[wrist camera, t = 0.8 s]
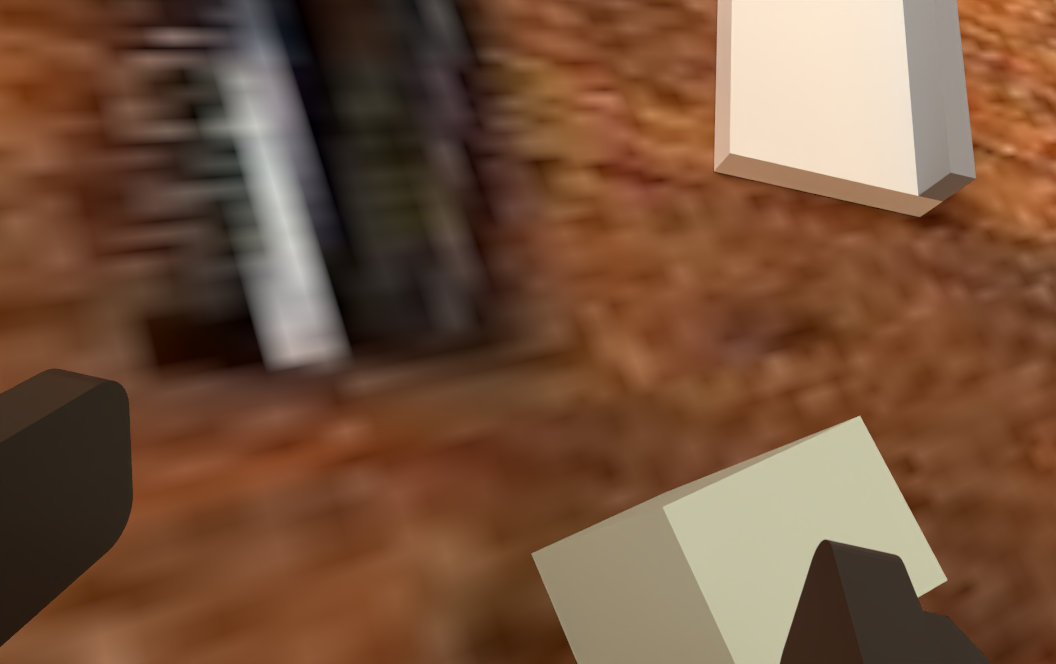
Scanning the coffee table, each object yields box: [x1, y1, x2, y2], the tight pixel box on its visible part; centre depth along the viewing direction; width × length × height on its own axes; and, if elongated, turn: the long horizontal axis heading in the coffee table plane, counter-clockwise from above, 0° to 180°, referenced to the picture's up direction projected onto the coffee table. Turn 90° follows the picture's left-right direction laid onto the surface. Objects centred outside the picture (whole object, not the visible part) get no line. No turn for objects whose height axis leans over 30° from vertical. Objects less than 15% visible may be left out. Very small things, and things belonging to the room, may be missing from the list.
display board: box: [714, 0, 976, 217], centre depth 38 cm, size 10×16×4 cm, turn 174°
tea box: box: [531, 416, 947, 664], centre depth 23 cm, size 4×6×12 cm
